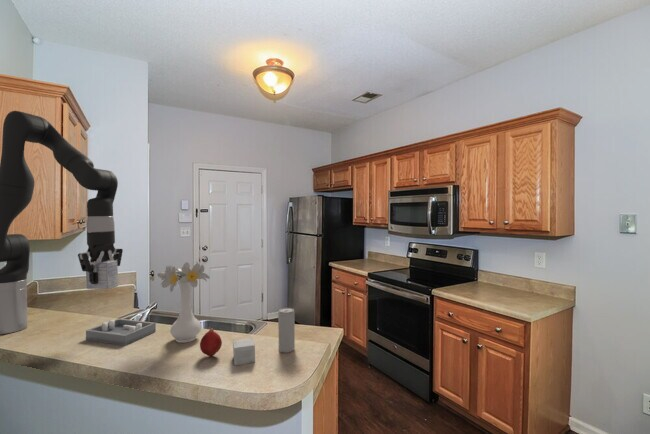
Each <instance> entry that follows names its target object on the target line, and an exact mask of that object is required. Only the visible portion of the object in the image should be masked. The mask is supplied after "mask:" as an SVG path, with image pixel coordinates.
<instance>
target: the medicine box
mask: <svg viewBox="0 0 650 434" xmlns="http://www.w3.org/2000/svg"><path fill="white" fill-rule="evenodd" d="M94 262H95V261H94ZM93 267H94V265H93ZM118 268H119V266H117V261H102V262H101V263H100V265H99V266H98V269H97V272H98V284H91V283H90V281H89V272H86V271H85V278H86V280H85V281H86V290H87V289H88V290H102V289H103V290H109V289H114V288H116V287H119V272H118Z"/></svg>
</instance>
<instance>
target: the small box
mask: <svg viewBox="0 0 650 434" xmlns="http://www.w3.org/2000/svg"><path fill="white" fill-rule="evenodd" d="M232 350H233V363H234V366H238V365H245V364H246V365H248V364H254V363H256V345H255V341H254V338H253V337H249V338H244V339H243V338H242V339H241V338H240V339H236V340H233V341H232Z"/></svg>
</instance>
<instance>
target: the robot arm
mask: <svg viewBox="0 0 650 434" xmlns="http://www.w3.org/2000/svg"><path fill="white" fill-rule="evenodd" d="M2 124H3V125H2V135H1V137H2V139H1V141H2V144H1V154H0V155H1V156H0V263H2V262H3V263H4V262H5V263H6V264H5V265H4V266H3V267H2V268H0V335H3V334H5V335H6V334H12V333H16V332H18V331H22V330H24V329H26V328H27V327H28V282H27V281H28V279H27V277H28V276H27V275H28V273H29V269H30V256H31V255H30V254H31V253H30V251H31V247H30V245H31V244H30V241H29V239H28V237H26V236H25V235H24V234H22V233H21V234H20V233H13V234H8V232H9V230H10V226H11V225H12V223H13V222H14V221H15V219H16V218H17V217H18V216H19V215H20V214H22V212H23V211H24V210H25V209H26V208H27V207H28V205H29V204H30V203H31V202H32V200H33V199H32V198H33V195H34V189H35V178H34V176H33V173H32V171H31V169H30V167H29V166H28V163H27V161H26V158H25V144H26V143H27V142H28V143H33V144H34V143H35V144H40V145H42V146H44V147H45V148H48V149H49V150H51V151H52V155H53V157H54V160H55V161H56V163H58V164H59V165H60V166H61V167H62V168H64V170H66V171H68V173H70V174H71V175H73V177H74V178H75V180H76V181H77V183H78V184H79V185H80V186H81V187H82V188H85V189H86V190H90V191H97V194H96V196H95V197H93V198H89V199H88V200H87V202H86V216H87V217H86V245H87V246H88V249H87V250H86V251H85V252H82V253H81V252H79V253H78V254H77V259H78V261H79V263H80V267H81V271H82V272H85V273H86V272H89V281H90V283H91V284H98V272H97V269H98V266H99V265H100V263H101V262H102V261H117V267H120V266H121V263H122V262H121V261H122V256H123V252H124V251H123V250H124V249H123V248H116V247H115V245H114V244H115V243H116V238H115V237H116V235H115V234H116V233H115V231H116V230H115V221H114V201H115V199H116V194H117V191H118V190H117V189H118V184H119V183H118V182H119V181H118V178H117V176H116V174H115V173H114V172H113V171H112V170H111V171H110V170H107V169H101V168H95V164H94V162H93V161H92V160H91V159H90V158H89V157H88V156H86V155H85V154H84V153H82V152H81V151H80V150H78V149H77V148H76V147H74V146H73V145H72V144H71V143H70V142H68V141H67V140H66V138H65V137H63V135H62V134H61V133H60V132H59V131H58V130H57V128H55V127H54V126H53V125H52V123H51V122H50V121H48V119H45V118H44V117H41V116H39V115H35V114H31V113H28V112H23V111H19V110H12V111H9V112H8V113H7V115H5V118H4V121H3V123H2ZM94 261H95V262H94ZM93 265H94V267H93Z"/></svg>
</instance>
